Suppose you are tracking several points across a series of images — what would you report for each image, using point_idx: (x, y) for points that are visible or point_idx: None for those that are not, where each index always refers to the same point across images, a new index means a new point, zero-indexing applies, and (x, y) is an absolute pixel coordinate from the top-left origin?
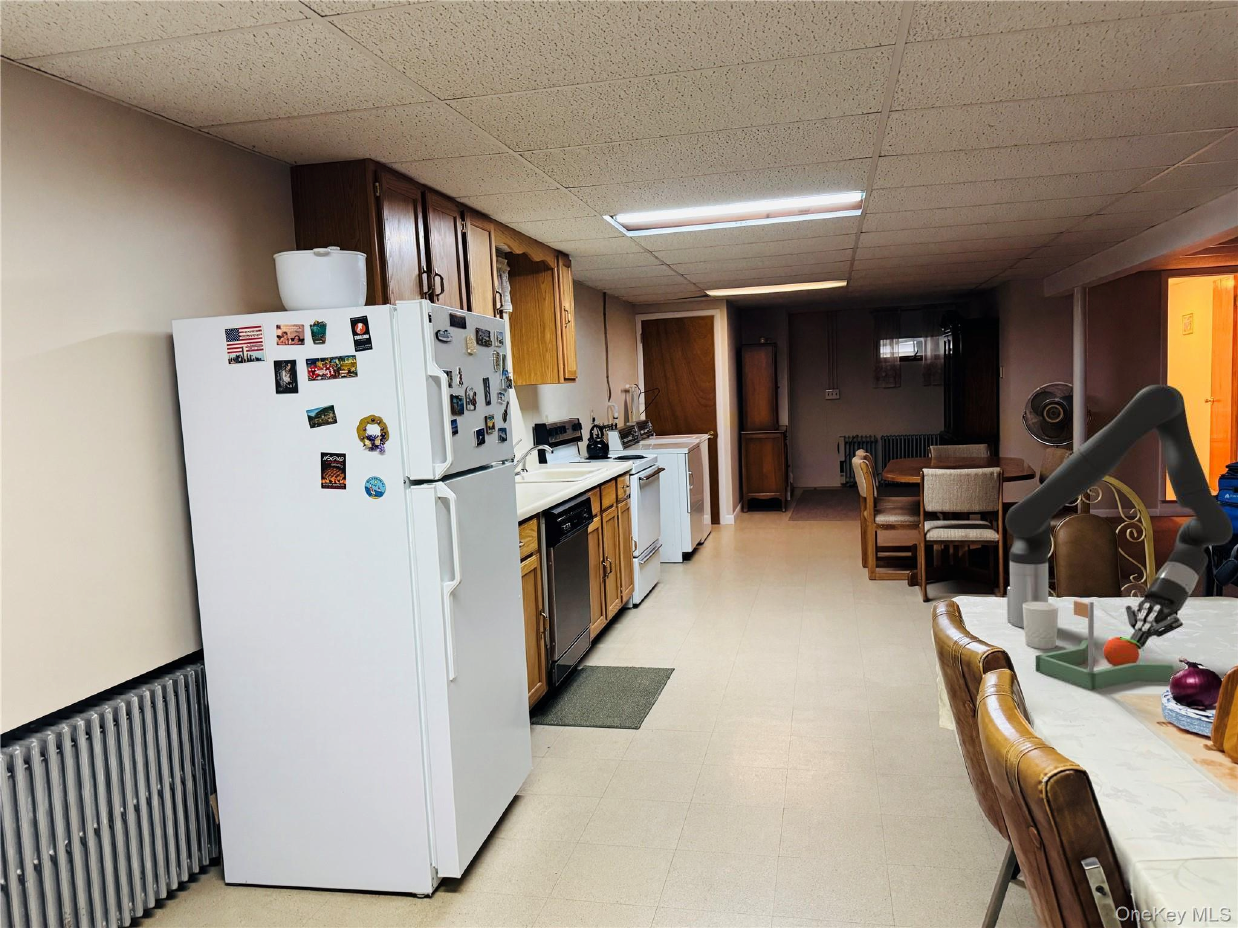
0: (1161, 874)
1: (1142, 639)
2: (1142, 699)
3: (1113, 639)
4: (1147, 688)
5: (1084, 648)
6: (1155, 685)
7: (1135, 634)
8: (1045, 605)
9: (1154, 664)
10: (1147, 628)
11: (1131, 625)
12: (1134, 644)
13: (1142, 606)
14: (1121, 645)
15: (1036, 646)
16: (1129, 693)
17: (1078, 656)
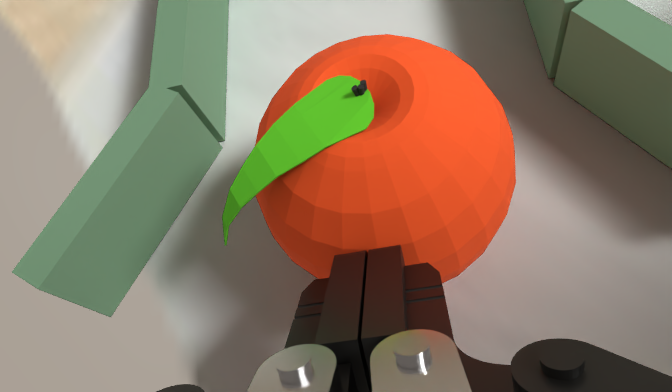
0: None
1: (299, 314)
2: (49, 21)
3: (385, 45)
4: (105, 114)
5: (571, 11)
6: None
7: (384, 295)
8: None
9: (93, 182)
10: (260, 387)
11: (536, 346)
12: (283, 191)
13: None
14: (296, 69)
15: None
16: (112, 18)
17: (542, 3)
